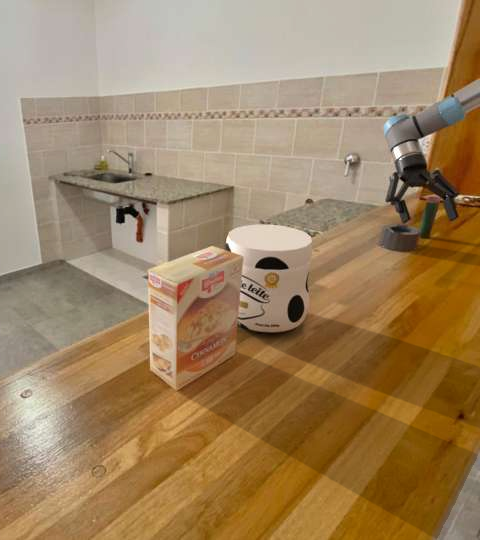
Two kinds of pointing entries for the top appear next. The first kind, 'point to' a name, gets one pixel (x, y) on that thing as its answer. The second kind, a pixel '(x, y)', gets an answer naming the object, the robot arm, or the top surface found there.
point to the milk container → (272, 276)
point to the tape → (399, 237)
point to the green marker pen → (429, 216)
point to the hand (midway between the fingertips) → (430, 220)
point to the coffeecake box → (193, 314)
